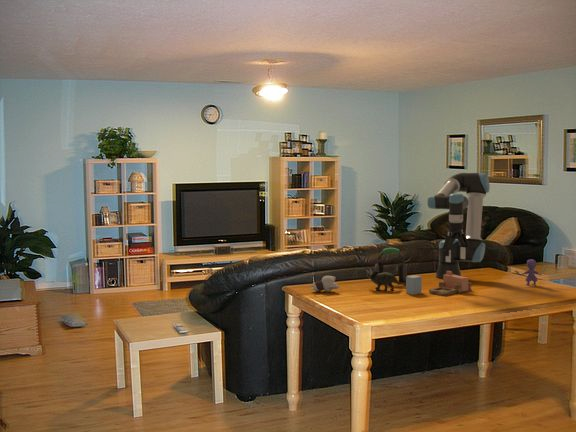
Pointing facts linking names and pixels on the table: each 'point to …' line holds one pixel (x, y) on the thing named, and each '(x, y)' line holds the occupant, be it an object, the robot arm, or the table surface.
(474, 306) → the table surface
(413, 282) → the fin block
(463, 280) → the pink slab with ridge
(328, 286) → the toy
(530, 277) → the toy
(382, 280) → the dinosaur figurine
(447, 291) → the jig
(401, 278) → the headphones
